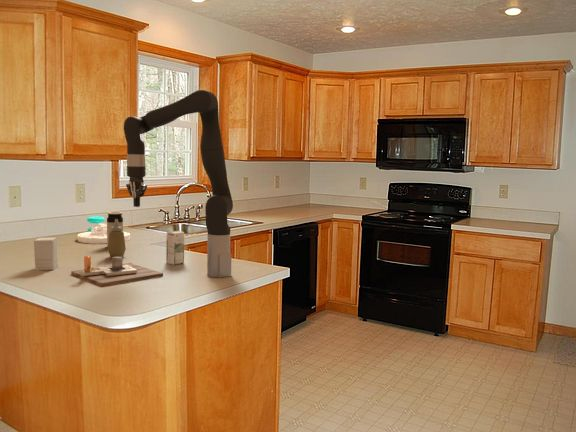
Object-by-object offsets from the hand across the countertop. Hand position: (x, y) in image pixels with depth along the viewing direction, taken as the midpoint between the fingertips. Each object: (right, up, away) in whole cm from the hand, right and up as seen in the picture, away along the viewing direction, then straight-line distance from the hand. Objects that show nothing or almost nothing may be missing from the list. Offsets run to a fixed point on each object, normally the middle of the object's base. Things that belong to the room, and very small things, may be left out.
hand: (136, 206), depth 219 cm
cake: (-40, -18, +75) cm, 87 cm away
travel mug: (-27, -20, +54) cm, 63 cm away
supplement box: (-38, -26, -1) cm, 46 cm away
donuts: (-53, -15, +96) cm, 111 cm away
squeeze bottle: (-17, -24, +27) cm, 40 cm away
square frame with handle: (-8, -26, -12) cm, 30 cm away
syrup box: (+13, -26, +16) cm, 33 cm away
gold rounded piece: (-15, -27, -13) cm, 33 cm away
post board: (-5, -28, -10) cm, 30 cm away
